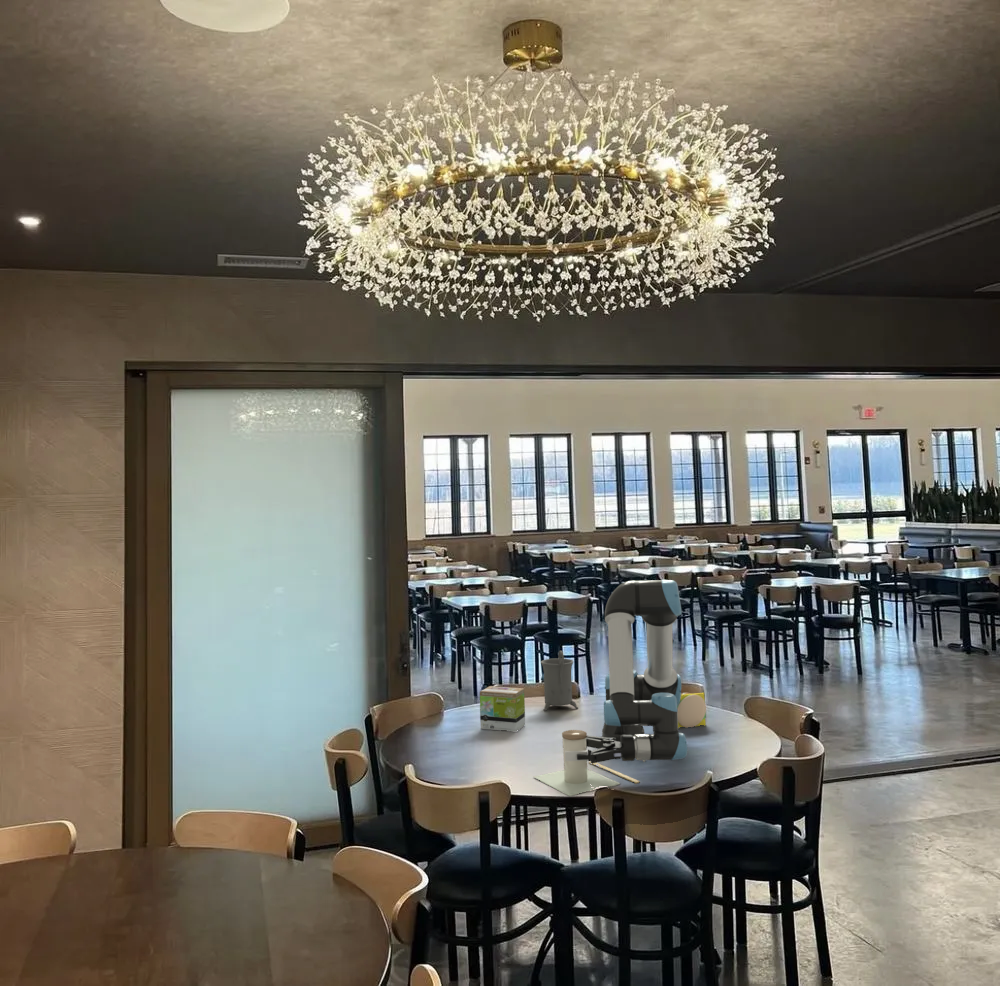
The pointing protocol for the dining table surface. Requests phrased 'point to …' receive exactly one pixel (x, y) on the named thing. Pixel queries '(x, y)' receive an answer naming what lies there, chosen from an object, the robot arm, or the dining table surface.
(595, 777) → the mat
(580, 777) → the canister
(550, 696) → the grey footed bucket
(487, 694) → the tea box
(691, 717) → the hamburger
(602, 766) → the tan wooden stick
